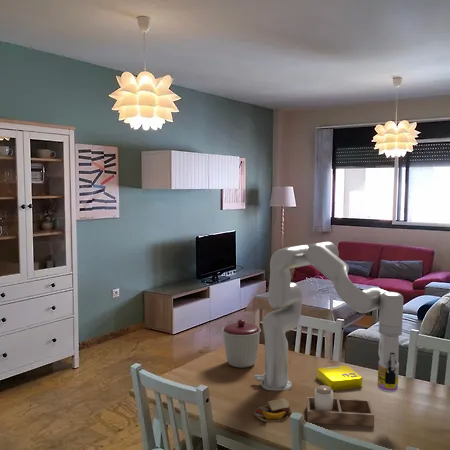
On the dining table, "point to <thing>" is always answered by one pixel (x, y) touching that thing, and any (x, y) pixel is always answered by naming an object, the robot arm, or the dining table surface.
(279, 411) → the toy sandwich meal
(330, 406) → the jar
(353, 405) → the crate
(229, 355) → the canister
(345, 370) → the element tile
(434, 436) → the dining table surface
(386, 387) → the supplement bottle
